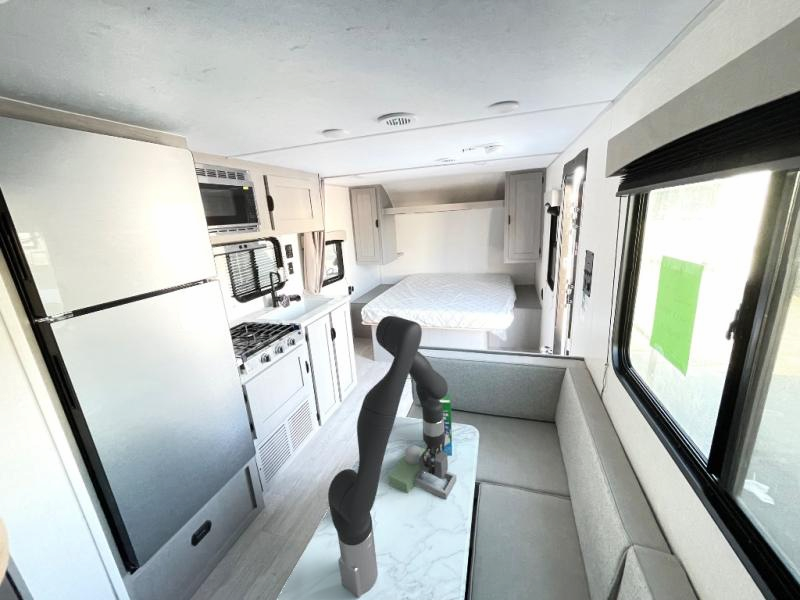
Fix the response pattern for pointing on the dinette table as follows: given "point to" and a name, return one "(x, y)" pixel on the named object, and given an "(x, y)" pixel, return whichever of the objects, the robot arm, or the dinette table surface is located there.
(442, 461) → the grey stepped block
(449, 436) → the milk carton
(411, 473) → the multicoloured piece
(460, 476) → the dinette table surface
